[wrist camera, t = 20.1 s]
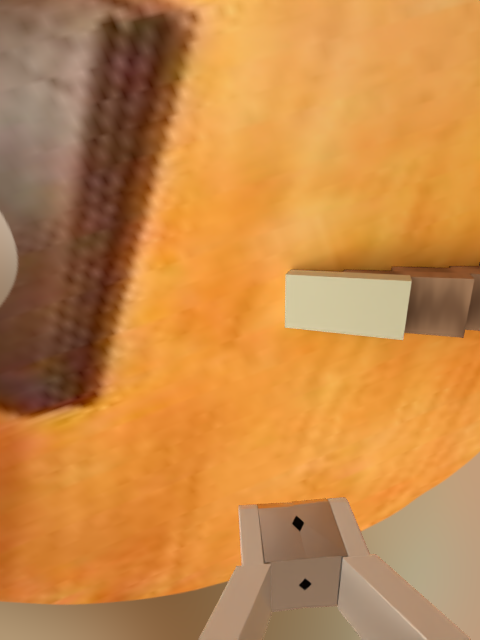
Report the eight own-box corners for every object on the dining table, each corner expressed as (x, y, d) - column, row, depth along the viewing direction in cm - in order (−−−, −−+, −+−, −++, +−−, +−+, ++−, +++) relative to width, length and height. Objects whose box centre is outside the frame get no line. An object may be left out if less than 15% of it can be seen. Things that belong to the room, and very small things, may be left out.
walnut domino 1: (341, 274, 31) (474, 278, 27) (344, 269, 32) (469, 273, 29) (339, 327, 32) (463, 337, 29) (341, 319, 34) (458, 328, 31)
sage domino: (285, 274, 30) (411, 281, 27) (290, 269, 32) (409, 275, 29) (285, 327, 32) (403, 340, 29) (289, 320, 34) (402, 331, 31)
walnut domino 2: (392, 271, 31) (529, 275, 28) (391, 266, 33) (520, 269, 29) (387, 323, 33) (514, 333, 29) (386, 316, 35) (506, 324, 31)
